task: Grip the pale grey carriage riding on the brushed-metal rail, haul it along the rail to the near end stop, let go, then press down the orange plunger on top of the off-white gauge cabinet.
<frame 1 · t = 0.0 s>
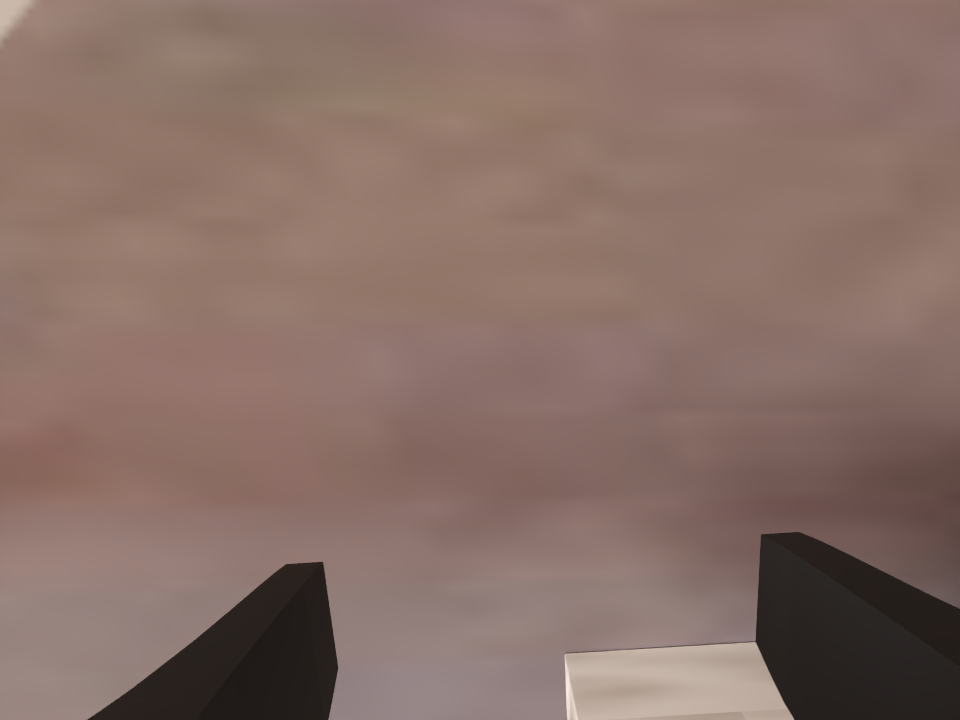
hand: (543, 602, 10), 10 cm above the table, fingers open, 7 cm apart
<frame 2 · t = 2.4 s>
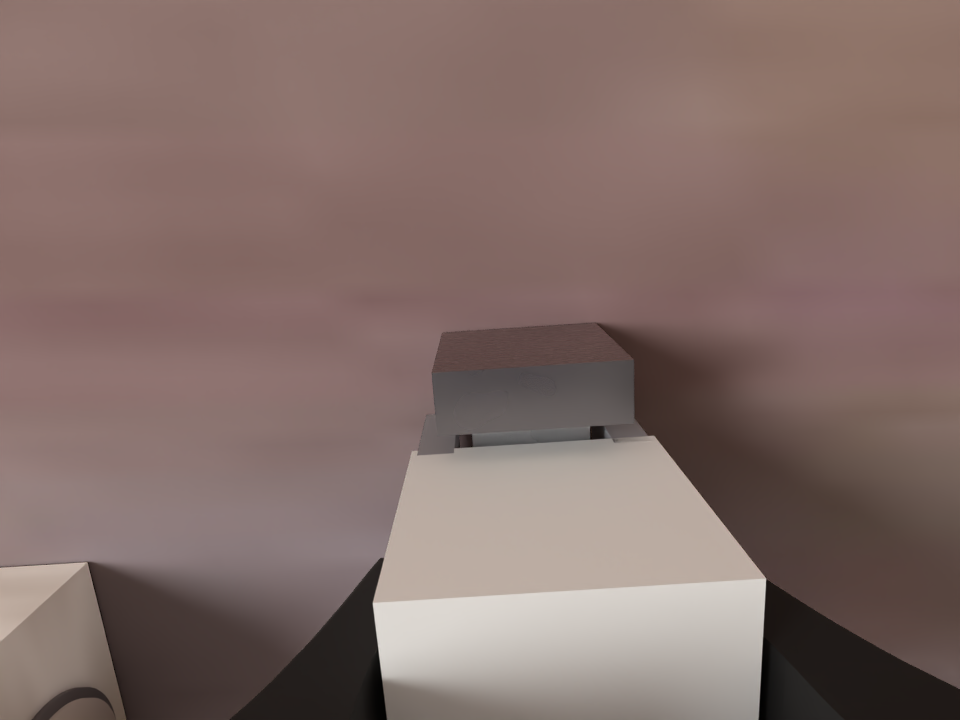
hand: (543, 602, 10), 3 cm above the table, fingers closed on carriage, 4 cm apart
rail: (536, 673, 14), on the table
carriage: (546, 618, 10), point 3 cm above the table, slide at 8.0 cm, touching gripper
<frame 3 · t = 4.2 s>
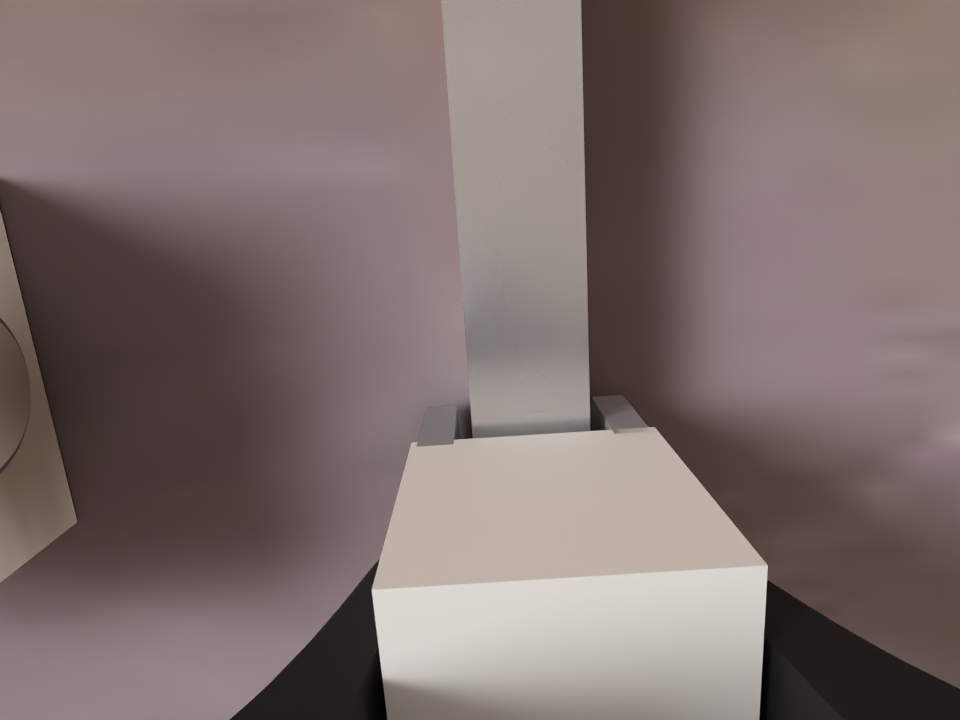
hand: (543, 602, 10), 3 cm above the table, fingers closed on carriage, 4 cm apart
rail: (519, 329, 12), on the table
carriage: (546, 609, 10), point 3 cm above the table, slide at 0.2 cm, touching gripper
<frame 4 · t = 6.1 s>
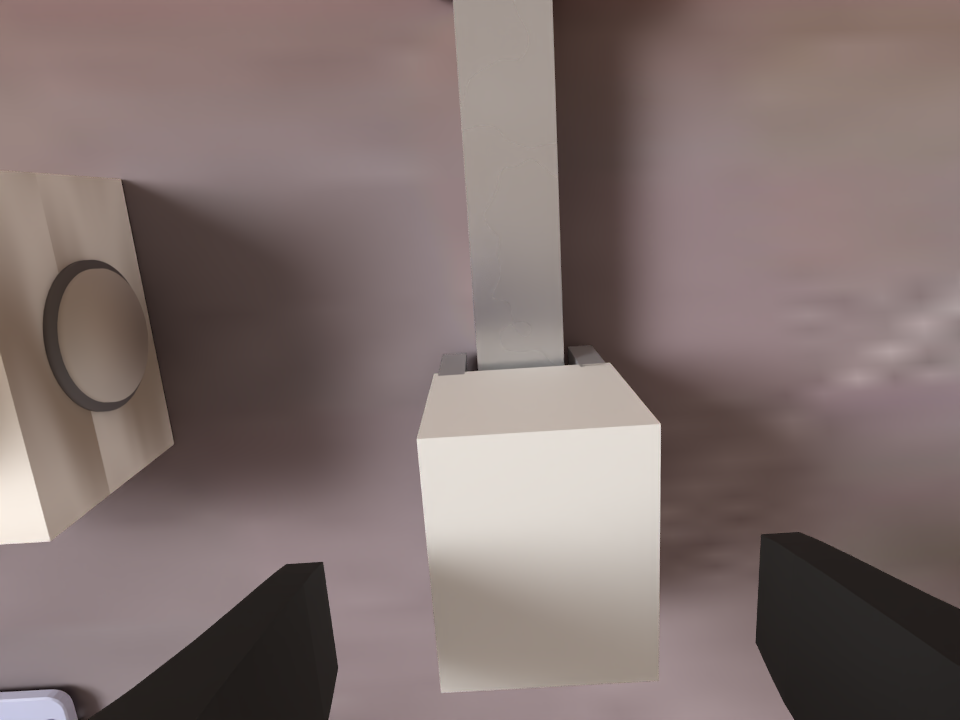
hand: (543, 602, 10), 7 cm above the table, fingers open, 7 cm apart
rail: (513, 294, 16), on the table
gauge cabinet: (16, 327, 16), on the table
carriage: (530, 490, 13), point 3 cm above the table, slide at 0.2 cm
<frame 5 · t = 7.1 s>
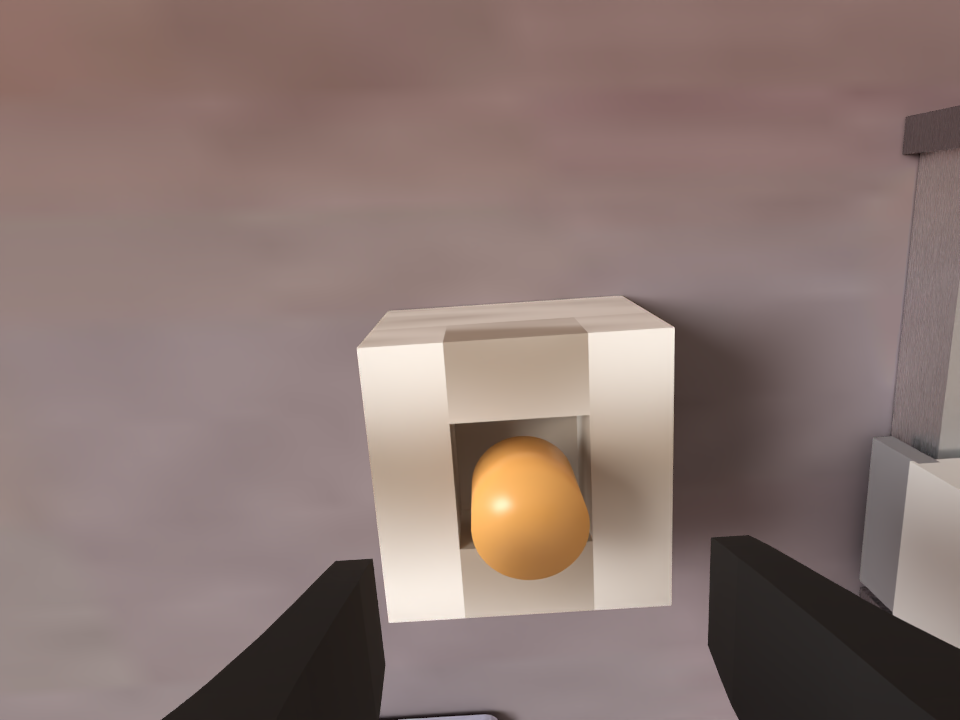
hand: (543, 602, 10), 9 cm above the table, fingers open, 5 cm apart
rail: (927, 387, 19), on the table
plunger: (526, 504, 13), point 6 cm above the table, slide at 0.0 cm
gauge cabinet: (510, 414, 19), on the table
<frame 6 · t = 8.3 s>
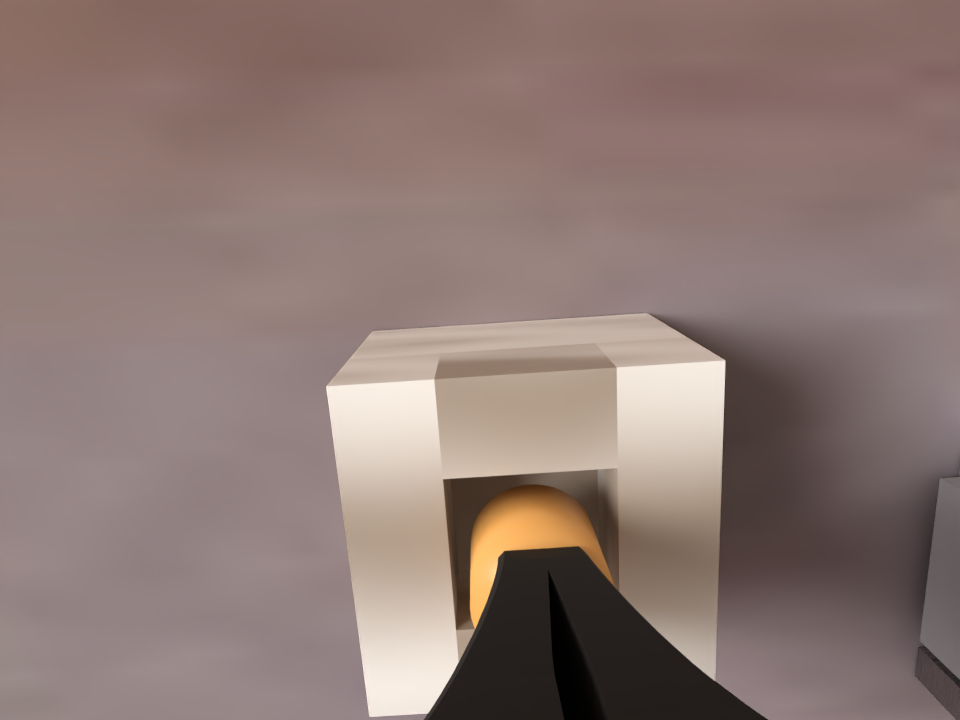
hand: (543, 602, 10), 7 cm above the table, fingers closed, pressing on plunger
plunger: (537, 570, 11), point 6 cm above the table, slide at 0.4 cm, touching gripper
gauge cabinet: (516, 450, 16), on the table
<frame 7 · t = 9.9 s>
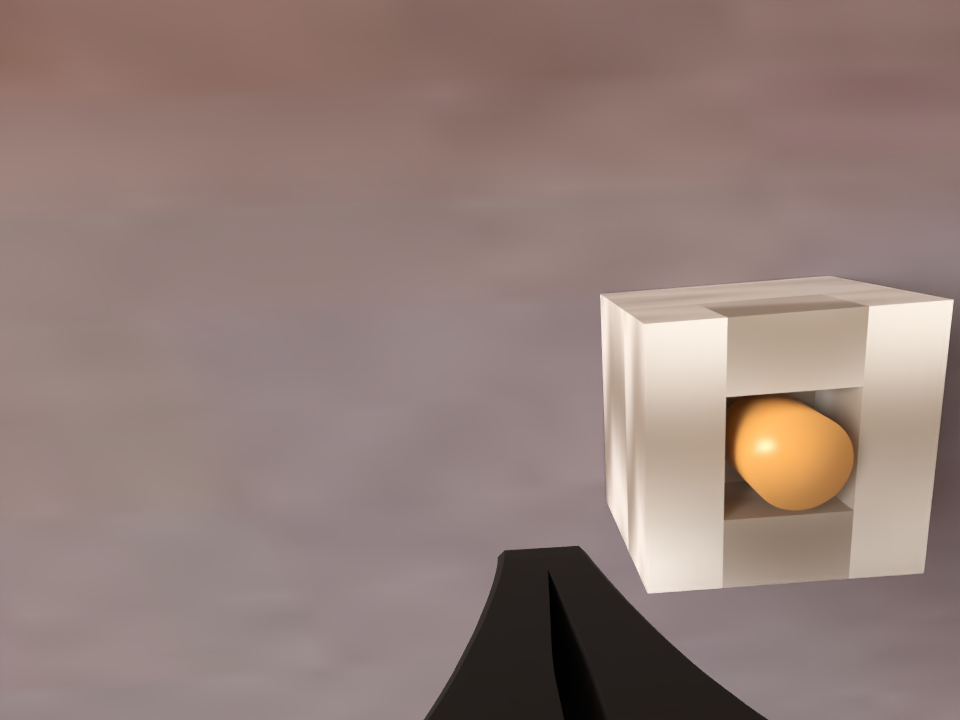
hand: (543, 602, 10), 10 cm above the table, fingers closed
plunger: (781, 447, 15), point 4 cm above the table, slide at 1.5 cm
gauge cabinet: (713, 394, 20), on the table
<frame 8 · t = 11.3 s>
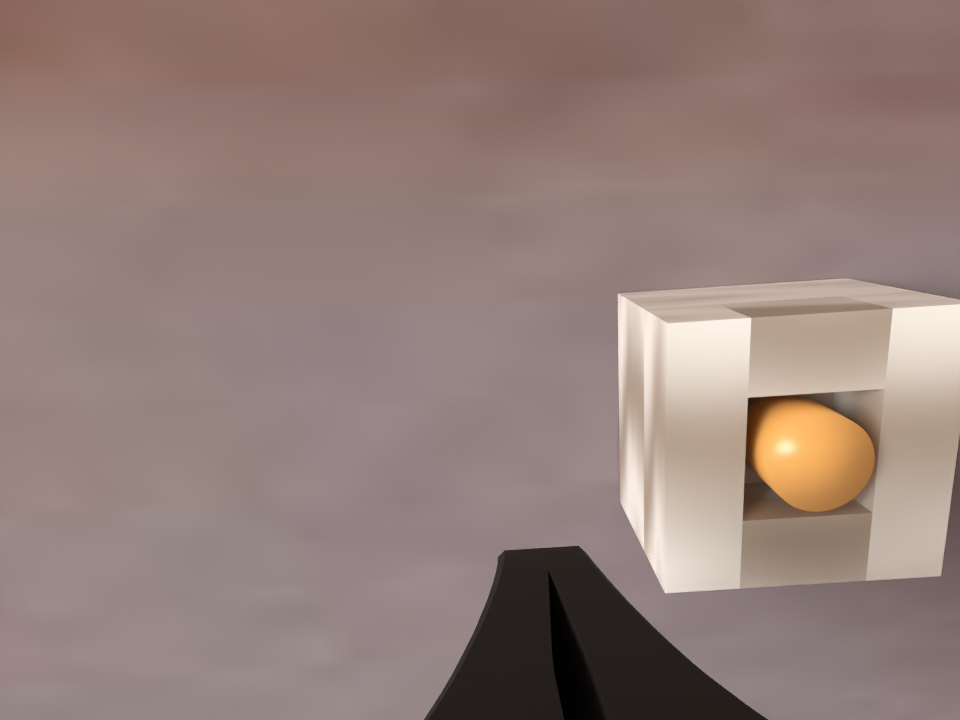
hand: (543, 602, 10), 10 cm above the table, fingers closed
plunger: (800, 448, 15), point 4 cm above the table, slide at 1.5 cm
gauge cabinet: (728, 394, 20), on the table
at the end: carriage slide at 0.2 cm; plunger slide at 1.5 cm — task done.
